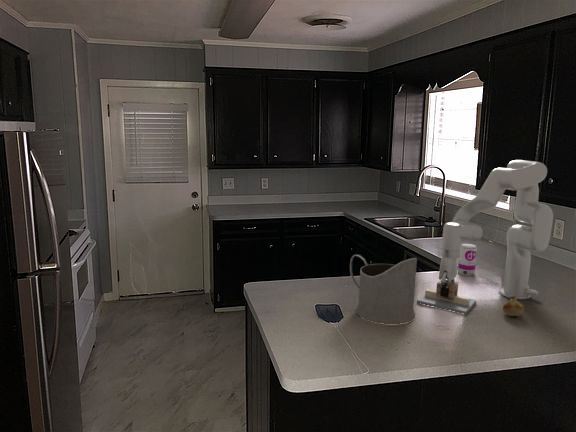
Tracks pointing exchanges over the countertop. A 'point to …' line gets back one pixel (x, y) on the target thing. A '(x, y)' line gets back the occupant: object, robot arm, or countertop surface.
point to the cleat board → (447, 302)
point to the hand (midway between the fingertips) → (446, 293)
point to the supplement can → (467, 259)
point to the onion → (513, 307)
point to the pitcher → (386, 291)
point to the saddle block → (452, 290)
